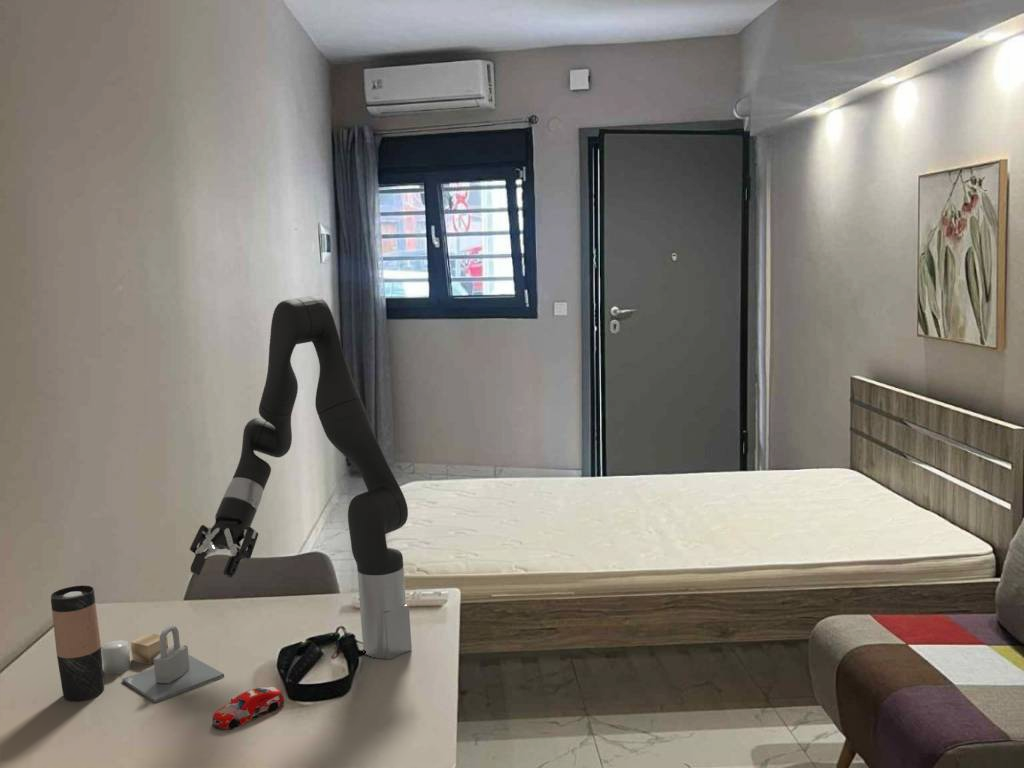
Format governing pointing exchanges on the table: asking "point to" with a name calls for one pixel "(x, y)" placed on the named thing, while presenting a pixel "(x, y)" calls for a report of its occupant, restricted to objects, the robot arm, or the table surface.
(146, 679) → the mat
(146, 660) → the oak block
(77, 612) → the travel mug
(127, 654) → the white rounded capsule
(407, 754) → the table surface
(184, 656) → the padlock
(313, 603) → the table surface
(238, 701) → the race car
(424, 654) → the table surface
